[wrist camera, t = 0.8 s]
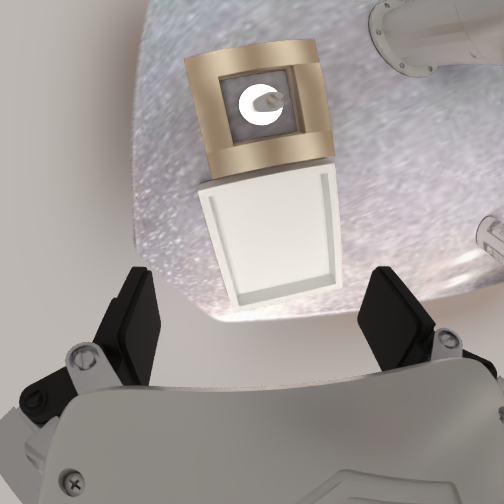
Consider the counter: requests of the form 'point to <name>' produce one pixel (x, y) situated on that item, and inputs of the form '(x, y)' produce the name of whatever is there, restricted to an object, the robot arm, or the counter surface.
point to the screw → (261, 104)
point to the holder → (302, 95)
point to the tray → (275, 232)
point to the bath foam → (492, 238)
